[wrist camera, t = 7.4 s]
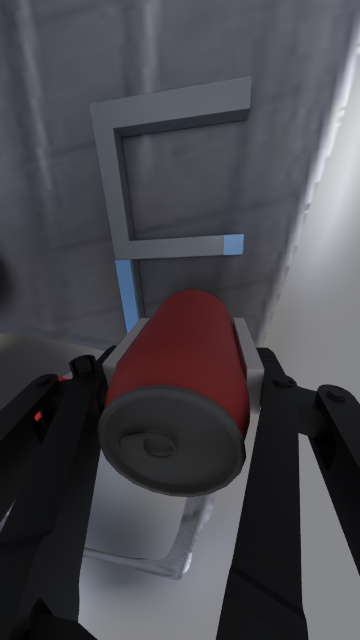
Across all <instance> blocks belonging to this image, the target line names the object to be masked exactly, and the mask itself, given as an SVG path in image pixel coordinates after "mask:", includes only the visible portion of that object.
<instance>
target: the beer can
mask: <svg viewBox="0 0 360 640" xmlns="http://www.w3.org/2000/svg"><path fill="white" fill-rule="evenodd" d="M249 423H250V403H249V393H248V388H247V384H246V380H245V376H244V372H243V367H242V363H241V359H240V355H239V351H238V347H237V343H236V339H235V334H234V330H233V326H232V322H231V318H230V315H229V313H228V311H227V309H226V307H225V305H224V304H223V303H222V302H221V301H220V300H219V299H218V298H217V297H216V296H214V295H212V294H210V293H208V292H206V291H201V290H194V289H189V290H183V291H179V292H177V293H175V294H173V295H171V296H169V297H168V298H167V299H166V300H165V301H164V302H163V303H162V304H161V306H160V307H159V308H158V310H157V311H156V313H155V314H154V316H153V317H152V318H151V320H150V321H149V323H148V324H147V325H146V327H145V328H144V330H143V331H142V332H141V334H140V335H139V337H138V338H137V339H136V341H135V342H134V344H133V345H132V346H131V348H130V349H129V351H128V352H127V353H126V355H125V356H124V358H123V359H122V361H121V362H120V363H119V365H118V366H117V368H116V370H115V373H114V375H113V378H112V380H111V383H110V385H109V388H108V391H107V394H106V401H105V409H104V410H103V413H102V415H101V418H100V420H99V422H98V425H97V433H98V443H99V445H100V447H101V449H102V451H103V453H104V456H105V458H106V460H107V461H108V462H109V463H110V464H111V465H112V466H113V467H114V469H115V470H116V471H117V472H118V473H119V474H121V475H122V476H124V477H125V478H126V479H128V480H129V481H131V482H132V483H134V484H136V485H138V486H140V487H143V488H145V489H148V490H150V491H152V492H156V493H161V494H165V495H169V496H179V497H195V496H200V495H206V494H211V493H213V492H215V491H217V490H219V489H222V488H224V487H226V486H227V485H228V484H229V483H230V482H232V481H233V479H235V478H236V477H237V476H238V475H239V473H240V472H241V470H242V467H243V465H244V462H245V459H246V452H245V444H244V441H245V438H246V434H247V431H248V427H249Z"/></svg>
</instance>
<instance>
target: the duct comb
mask: <svg viewBox="0 0 360 640" xmlns="http://www.w3.org/2000/svg"><path fill="white" fill-rule="evenodd" d="M251 80H252V76H249V77H243V78H237V79H232V80H226V81H220V82H214V83H208V84H202V85H196V86H190V87H184V88H178V89H172V90H166V91H160V92H155V93H149V94H143V95H137V96H131V97H125V98H119V99H113V100H107V101H101V102H95V103H89V108H90V114H91V119H92V125H93V131H94V137H95V143H96V149H97V155H98V160H99V166H100V172H101V178H102V184H103V190H104V196H105V201H106V207H107V213H108V219H109V225H110V231H111V237H112V243H113V248H114V254H115V264H116V270H117V276H118V282H119V287H120V293H121V299H122V305H123V311H124V317H125V322H126V328H127V334H128V333H129V332H130V330H131V329H132V328H133V327H134V326H135V325H136V323H137V322H138V321H139V320H140V319H141V318H145V313H144V306H143V298H142V290H141V283H140V275H139V267H138V260H137V259H148V258H169V257H190V256H211V255H239V254H243V239H244V234H232V235H216V236H200V237H184V238H167V239H151V240H135V237H134V229H133V222H132V214H131V207H130V199H129V191H128V184H127V176H126V169H125V161H124V153H123V146H122V138H121V137H127V136H134V135H142V134H149V133H156V132H163V131H170V130H177V129H185V128H192V127H199V126H206V125H213V124H220V123H228V122H235V121H242V120H246V119H247V116H248V113H249V110H250V99H251Z"/></svg>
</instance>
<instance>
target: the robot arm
mask: <svg viewBox="0 0 360 640" xmlns="http://www.w3.org/2000/svg"><path fill="white" fill-rule="evenodd" d="M149 321H150V318H141V319H140V320H139V321H138V322H137V323H136V325H135V326H134V327H133V328H132V329H131V330H130V332H129V333H128V334H127V335H126V336H125V338H124V339H123V340H122V341H121V342H120V344H119V345H118V346H112V347H110V348H108V349H107V350H106V351H105V352H104V353H103V355H101V357H100V358H99V359H98V360H97V361H96V359H95V357H94V356H92V355H83V356H79V357H77V358H75V359H73V360H72V361H71V362H70V363H69V366H70V369H71V372H72V376H73V377H72V379H67V380H61V381H59V379H58V376H57V375H55V374H46V375H43V376H40V377H39V378H37V379H35V380H34V381H32V382H31V383H30V384H29V385H28V386H27V387H26V388H25V389H23V390H22V391H21V392H20V393H19V394H18V395H17V396H16V397H15V398H14V399H13V400H12V401H11V402H9V403H8V404H7V405H6V406H5V407H4V408H3V409H2V410H1V411H0V522H1V521H2V519H3V518H4V516H5V515H6V513H7V512H8V510H9V509H10V507H11V505H12V504H13V503H14V504H13V507H12V509H11V511H10V513H9V515H8V517H7V520H6V522H5V524H4V526H3V528H2V530H1V533H0V640H97V639H96V638H95V637H94V636H93V635H92V634H90V633H89V632H88V631H87V630H86V629H85V628H84V627H83V626H82V625H80V624H79V623H78V615H79V576H80V569H81V563H82V557H83V551H84V545H85V539H86V533H87V527H88V521H89V515H90V509H91V503H92V497H93V491H94V485H95V480H96V473H97V468H98V462H99V456H100V450H101V447H100V445H99V443H98V433H97V425H98V422H99V420H100V418H101V415H102V413H103V410H104V409H105V401H106V394H107V391H108V388H109V385H110V383H111V380H112V378H113V375H114V373H115V370H116V368H117V366H118V365H119V363H120V362H121V361H122V359H123V358H124V356H125V355H126V353H127V352H128V351H129V349H130V348H131V346H132V345H133V344H134V342H135V341H136V339H137V338H138V337H139V335H140V334H141V332H142V331H143V330H144V328H145V327H146V325H147V324H148V323H149ZM233 330H234V334H235V339H236V343H237V347H238V351H239V355H240V359H241V363H242V367H243V372H244V376H245V380H246V384H247V388H248V393H249V403H250V413H256V414H259V412H260V415H259V421H258V426H257V432H256V437H255V442H254V447H253V453H252V458H251V463H250V469H249V474H248V480H247V485H246V490H245V496H244V501H243V507H242V512H241V517H240V522H239V528H238V533H237V538H236V544H235V549H234V555H233V559H232V564H231V567H230V570H229V575H228V579H227V584H226V589H225V594H224V599H223V605H222V610H221V615H220V620H219V625H218V631H217V636H216V640H308V630H307V623H306V618H305V615H304V611H303V605H302V586H301V585H302V583H301V535H300V489H299V441H298V433H301V434H304V435H307V436H308V438H309V441H310V444H311V446H312V449H313V452H314V454H315V457H316V460H317V462H318V465H319V468H320V471H321V473H322V476H323V478H324V481H325V484H326V487H327V489H328V492H329V495H330V497H331V500H332V503H333V505H334V508H335V511H336V514H337V516H338V519H339V521H340V524H341V527H342V530H343V532H344V535H345V537H346V540H347V543H348V546H349V548H350V551H351V554H352V556H353V559H354V562H355V565H356V567H357V570H358V572H359V575H360V404H359V402H358V401H357V400H356V398H355V397H354V396H353V395H352V394H351V393H350V392H348V391H347V390H345V389H343V388H341V387H338V386H334V385H321V386H319V388H318V390H317V391H313V390H309V389H305V388H301V387H299V386H297V383H296V382H295V381H294V380H293V379H292V378H291V377H289V376H287V375H285V373H284V371H283V369H282V367H281V365H280V363H279V362H278V360H277V358H276V356H275V354H274V352H272V351H271V350H270V349H269V348H256V347H255V345H254V342H253V340H252V337H251V335H250V332H249V330H248V327H247V325H246V322H245V320H244V318H233ZM260 407H261V410H260ZM38 412H39V413H40V416H41V417H40V418H39V419H38V420H37V421H36V419H35V416H36V414H37V413H38ZM15 499H16V500H15ZM14 501H15V502H14Z"/></svg>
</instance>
